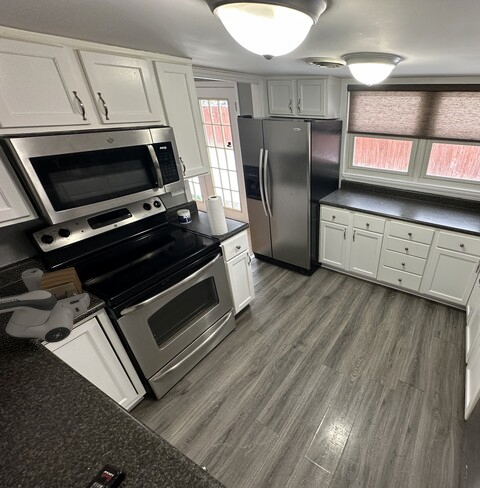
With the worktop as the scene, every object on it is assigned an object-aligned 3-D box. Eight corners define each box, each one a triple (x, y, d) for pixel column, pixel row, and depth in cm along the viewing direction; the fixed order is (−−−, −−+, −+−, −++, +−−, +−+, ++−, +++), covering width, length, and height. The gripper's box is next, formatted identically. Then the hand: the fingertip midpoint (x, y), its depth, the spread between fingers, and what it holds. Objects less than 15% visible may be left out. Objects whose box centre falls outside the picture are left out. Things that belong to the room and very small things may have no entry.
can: (49, 292, 135) (38, 272, 130) (28, 296, 132) (17, 276, 126) (52, 285, 141) (42, 265, 136) (32, 289, 137) (21, 269, 132)
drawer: (79, 304, 126) (72, 288, 123) (49, 313, 120) (40, 297, 116) (79, 285, 140) (72, 271, 136) (51, 293, 133) (44, 278, 129)
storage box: (81, 297, 133) (73, 279, 128) (49, 306, 126) (39, 287, 121) (81, 284, 143) (73, 267, 138) (51, 292, 136) (42, 274, 131)
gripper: (27, 330, 108) (31, 312, 117) (92, 310, 120) (90, 295, 129) (20, 318, 105) (25, 301, 114) (87, 299, 117) (86, 285, 126)
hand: (60, 298), depth 122 cm, fingers open, 8 cm apart
